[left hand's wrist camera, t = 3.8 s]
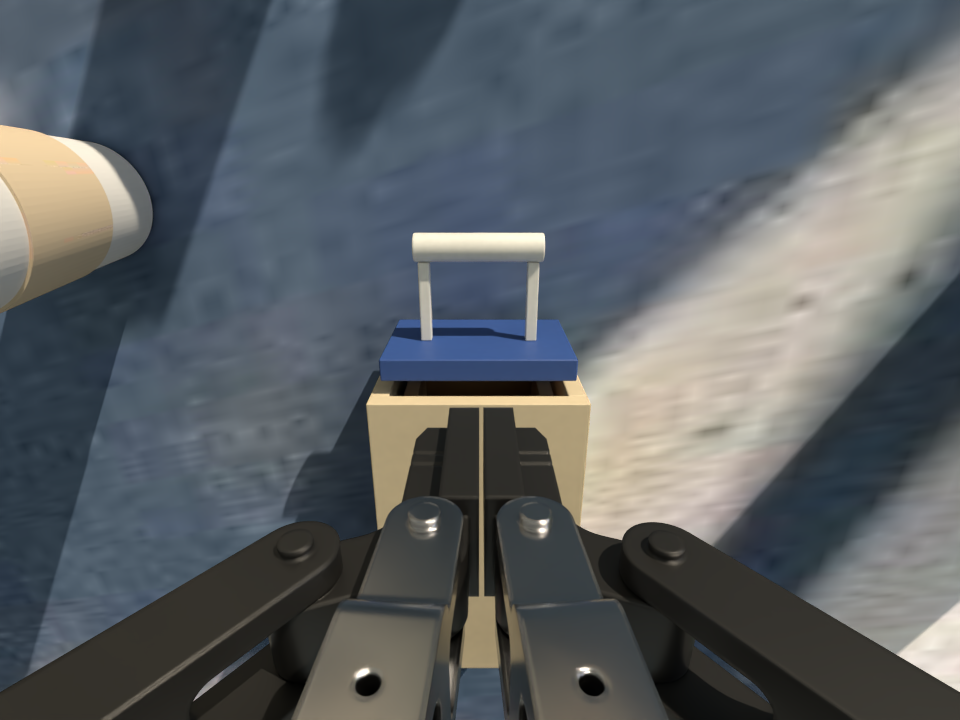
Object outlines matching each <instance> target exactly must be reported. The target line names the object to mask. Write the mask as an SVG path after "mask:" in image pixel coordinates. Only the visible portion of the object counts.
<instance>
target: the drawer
mask: <svg viewBox="0 0 960 720" xmlns="http://www.w3.org/2000/svg"><path fill="white" fill-rule="evenodd" d="M412 254H413V260H414V262H418V280H419V302H420V320H399V322H398V324H397V326H396V328H395V330H394V332H393V334H392V336H391V338H390V340H389V342H388V344H387V346H386V348H385V350H384V352H383V354H382V355H381V357H380V359H379V368H380V380H381V381H408V384H407V387H406V390H405V393H404V396H554V395H553V392H552V388H551V385H550V382H549V381H576V380H577V368H578V359H577V357H576V355H575V353H574V351H573V349H572V347H571V345H570V343H569V341H568V339H567V337H566V335H565V333H564V331H563V329H562V327H561V325H560V322H559V320H537V308H538V285H539V262H543V260H544V255H545V236H544V233H413V237H412ZM430 262H527V283H526V313H525V320H432V305H431V277H430Z"/></svg>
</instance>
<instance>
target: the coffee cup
mask: <svg viewBox="0 0 960 720" xmlns="http://www.w3.org/2000/svg"><path fill="white" fill-rule="evenodd" d="M152 221H153V209H152V203H151V199H150V195H149V192H148V190H147V188H146V185H145V183H144V182H143V180H142V178H141V177H140V175H139V174H138V172H137V171H136V170H135V169H134V168H133V166H132V165H131V164H130V163H129V162H128V161H127V160H125V159H124V158H123V157H122V156H120V155H119V154H118V153H116V152H114V151H113V150H111V149H109V148H107V147H105V146H102V145H100V144H97V143H93V142H87V141H81V140H74V139H68V138H61V137H54V136H48V135H45V134H42V133H39V132H36V131H32V130H27V129H21V128H15V127H9V126H3V125H0V313H2V312H4V311H7V310H9V309H11V308H14V307H16V306H18V305H20V304H23V303H25V302H27V301H29V300H32V299H34V298H36V297H39V296H41V295H43V294H45V293H48V292H50V291H52V290H54V289H57V288H59V287H61V286H64V285H66V284H68V283H70V282H73V281H75V280H77V279H80V278H82V277H84V276H86V275H88V274H89V273H91V272H92V271H94V270H95V269H98V268H100V267H102V266H105V265H107V264H110V263H112V262H115V261H117V260H119V259H122V258H124V257H127V256H129V255H131V254H133V253H134V252H135V251H137V250H138V249H139V248H140V247H141V246H142V245H143V244H144V242H145V241H146V239H147V237H148V236H149V233H150V230H151V227H152Z"/></svg>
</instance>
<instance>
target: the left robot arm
mask: <svg viewBox="0 0 960 720" xmlns="http://www.w3.org/2000/svg"><path fill="white" fill-rule="evenodd" d="M483 526H484V596H495V639H496V648H497V657H498V665H499V674H500V683H501V692H502V700H503V709H504V718H505V720H960V692H958V691H957V690H955V689H953V688H952V687H950V686H948V685H947V684H945V683H943V682H941V681H940V680H938V679H936V678H935V677H933V676H931V675H930V674H928V673H926V672H925V671H923V670H921V669H919V668H918V667H916V666H914V665H913V664H911V663H909V662H908V661H906V660H904V659H902V658H901V657H899V656H897V655H896V654H894V653H892V652H891V651H889V650H887V649H886V648H884V647H882V646H880V645H879V644H877V643H875V642H874V641H872V640H870V639H869V638H867V637H865V636H863V635H862V634H860V633H858V632H857V631H855V630H853V629H852V628H850V627H848V626H847V625H845V624H843V623H841V622H840V621H838V620H836V619H835V618H833V617H831V616H830V615H828V614H826V613H824V612H823V611H821V610H819V609H818V608H816V607H814V606H813V605H811V604H809V603H808V602H806V601H804V600H802V599H801V598H799V597H797V596H796V595H794V594H792V593H791V592H789V591H787V590H785V589H784V588H782V587H780V586H779V585H777V584H775V583H774V582H772V581H770V580H769V579H767V578H765V577H763V576H762V575H760V574H758V573H757V572H755V571H753V570H752V569H750V568H748V567H746V566H745V565H743V564H741V563H740V562H738V561H736V560H735V559H733V558H731V557H730V556H728V555H726V554H724V553H723V552H721V551H719V550H718V549H716V548H714V547H713V546H711V545H709V544H707V543H706V542H704V541H702V540H701V539H699V538H697V537H696V536H694V535H692V534H690V533H689V532H687V531H685V530H683V529H681V528H678V527H676V526H673V525H669V524H664V523H657V522H647V523H641V524H638V525H635V526H633V527H631V528H630V529H629V530H627V531H626V533H625V534H624V536H623V539H622V540H618V539H614V538H610V537H605V536H601V535H598V534H594V533H592V532H589V531H587V530H585V529H583V528H581V527H580V526H578V525H577V524H576V523H575V520H574V518H573V516H572V514H571V513H570V511H569V510H568V509H567V508H566V507H565V506H563V505H562V501H561V497H560V493H559V489H558V484H557V480H556V476H555V472H554V468H553V465H552V459H551V455H550V451H549V447H548V442H547V439H546V438H545V437H544V436H543V435H542V434H541V433H540V432H539V431H538V430H537V429H536V428H516V426H515V418H514V411H513V407H483ZM469 597H479V408H449V416H448V424H447V428H427V429H426V430H425V431H424V432H423V433H421V434H420V435H419V436H418V437H417V438H416V441H415V446H414V450H413V455H412V459H411V466H410V468H409V472H408V476H407V481H406V485H405V490H404V494H403V498H402V503H400V504H398V505H397V506H395V507H394V508H393V509H392V510H391V511H390V513H389V514H388V516H387V518H386V520H385V523H384V526H383V528H381V529H379V530H377V531H375V532H372V533H370V534H367V535H363V536H359V537H355V538H351V539H346V540H342V541H340V539H339V536H338V533H337V532H336V530H335V529H333V528H332V527H331V526H329V525H327V524H325V523H321V522H316V521H303V522H297V523H292V524H289V525H286V526H283V527H281V528H279V529H277V530H275V531H273V532H271V533H270V534H268V535H266V536H264V537H263V538H261V539H259V540H258V541H256V542H254V543H253V544H251V545H249V546H247V547H246V548H244V549H242V550H241V551H239V552H237V553H236V554H234V555H232V556H231V557H229V558H227V559H225V560H224V561H222V562H220V563H219V564H217V565H215V566H214V567H212V568H210V569H208V570H207V571H205V572H203V573H202V574H200V575H198V576H197V577H195V578H193V579H192V580H190V581H188V582H186V583H185V584H183V585H181V586H180V587H178V588H176V589H175V590H173V591H171V592H169V593H168V594H166V595H164V596H163V597H161V598H159V599H158V600H156V601H154V602H153V603H151V604H149V605H147V606H146V607H144V608H142V609H141V610H139V611H137V612H136V613H134V614H132V615H130V616H129V617H127V618H125V619H124V620H122V621H120V622H119V623H117V624H115V625H114V626H112V627H110V628H108V629H107V630H105V631H103V632H102V633H100V634H98V635H97V636H95V637H93V638H91V639H90V640H88V641H86V642H85V643H83V644H81V645H80V646H78V647H76V648H75V649H73V650H71V651H69V652H68V653H66V654H64V655H63V656H61V657H59V658H58V659H56V660H54V661H52V662H51V663H49V664H47V665H46V666H44V667H42V668H41V669H39V670H37V671H35V672H34V673H32V674H30V675H29V676H27V677H25V678H24V679H22V680H20V681H19V682H17V683H15V684H13V685H12V686H10V687H8V688H7V689H5V690H3V691H2V692H0V720H455V718H456V709H457V700H458V692H459V683H460V674H461V665H462V657H463V648H464V639H465V623H466V620H467V618H468V604H469ZM267 637H268V638H269V644H268V645H267V646H266V647H264V648H263V649H262V650H260V651H259V652H258V653H256V654H255V655H254V656H252V657H251V658H250V659H249V660H247V661H246V662H245V663H243V664H242V665H241V666H239V667H238V668H237V669H235V670H234V671H233V672H231V673H230V674H229V675H228V676H226V677H225V678H224V679H222V680H221V681H220V682H218V683H217V684H216V685H214V686H213V687H212V688H210V689H209V690H208V691H207V692H205V693H204V694H203V695H201V696H200V697H199V698H197V699H196V700H195V701H193V700H194V699H195V697H196V695H197V694H198V692H199V691H200V690H201V689H202V688H203V686H204V685H205V684H206V683H207V682H209V681H210V680H211V679H212V678H214V677H215V676H216V675H218V674H219V673H220V672H222V671H223V670H224V669H226V668H227V667H228V666H230V665H231V664H232V663H234V662H235V661H236V660H238V659H239V658H240V657H242V656H243V655H244V654H246V653H247V652H248V651H250V650H251V649H252V648H254V647H255V646H256V645H258V644H259V643H260V642H262V641H263V640H264V639H266V638H267ZM695 639H696V640H697V641H698V642H700V643H701V644H702V645H704V646H705V647H706V648H708V649H709V650H710V651H712V652H713V653H714V654H716V655H717V656H718V657H720V658H721V659H722V660H724V661H725V662H726V663H728V664H729V665H730V666H732V667H733V668H734V669H736V670H737V671H738V672H740V673H741V674H742V675H744V676H745V677H746V678H748V679H749V680H750V681H752V682H753V683H754V684H755V685H756V686H757V687H758V688H759V689H760V690H761V691H762V692H763V693H764V695H765V696H766V698H767V699H768V701H769V703H770V704H769V703H768V702H767V701H765V700H764V699H763V698H761V697H760V696H759V695H757V694H756V693H755V692H753V691H752V690H751V689H750V688H748V687H747V686H746V685H744V684H743V683H742V682H740V681H739V680H738V679H736V678H735V677H734V676H732V675H731V674H730V673H729V672H727V671H726V670H725V669H723V668H722V667H721V666H719V665H718V664H717V663H715V662H714V661H713V660H712V659H710V658H709V657H708V656H706V655H705V654H704V653H702V652H701V651H700V650H698V649H697V648H696V647H694V642H695Z"/></svg>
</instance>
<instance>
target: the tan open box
mask: <svg viewBox="0 0 960 720" xmlns="http://www.w3.org/2000/svg"><path fill="white" fill-rule="evenodd" d="M549 382H550V385H551V388H552V392H553V395H554V396H404V393H405V390H406V387H407V384H408V381H381V380H380V376H379V378H378V380H377V382H376V385H375V387H374V389H373V391H372V393H371V395H370V397H369V400H368V402H367V404H366V409H367V420H368V431H369V442H370V453H371V464H372V475H373V485H374V496H375V507H376V518H377V529H378V530H379V529H381V528H383V526H384V523H385V520H386V518H387V516H388V514H389V513H390V511H391V510H392V509H393V508H394V507H395V506H397V505H398V504H400V503H402V498H403V494H404V490H405V485H406V481H407V476H408V472H409V468H410V466H411V459H412V455H413V450H414V446H415V441H416V438H417V437H418V436H419V435H420V434H421V433H423V432H424V431H425V430H426V429H427V428H447V424H448V416H449V408H479V597H469V604H468V618H467V620H466V623H465V639H464V648H463V657H462V665H461V668H499V665H498V657H497V648H496V639H495V596H484V526H483V407H513V411H514V418H515V426H516V428H536V429H537V430H538V431H539V432H540V433H541V434H542V435H543V436H544V437H545V438H546V439H547V442H548V447H549V451H550V455H551V459H552V465H553V468H554V472H555V476H556V480H557V484H558V489H559V493H560V497H561V501H562V505H563V506H565V507H566V508H567V509H568V510H569V511H570V513H571V514H572V516H573V518H574V520H575V523H576V524H577V525H578V526H580V522H581V510H582V499H583V488H584V477H585V466H586V454H587V443H588V432H589V421H590V410H591V404H590V402H589V399H588V397H587V396H586V393H585V391H584V389H583V387H582V384H581V382H580V380H579V378H578V376H577V380H576V381H549Z"/></svg>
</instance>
